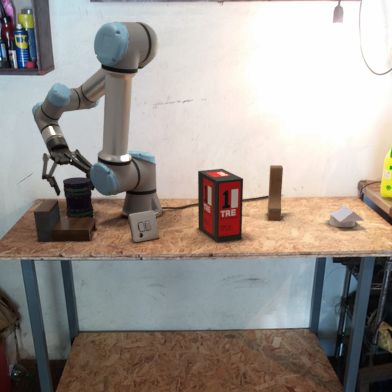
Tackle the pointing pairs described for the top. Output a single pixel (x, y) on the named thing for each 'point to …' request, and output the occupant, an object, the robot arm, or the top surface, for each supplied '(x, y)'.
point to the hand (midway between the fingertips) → (76, 191)
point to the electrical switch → (143, 226)
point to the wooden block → (275, 192)
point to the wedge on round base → (344, 217)
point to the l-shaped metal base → (60, 224)
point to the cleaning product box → (220, 204)
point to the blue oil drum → (78, 197)
